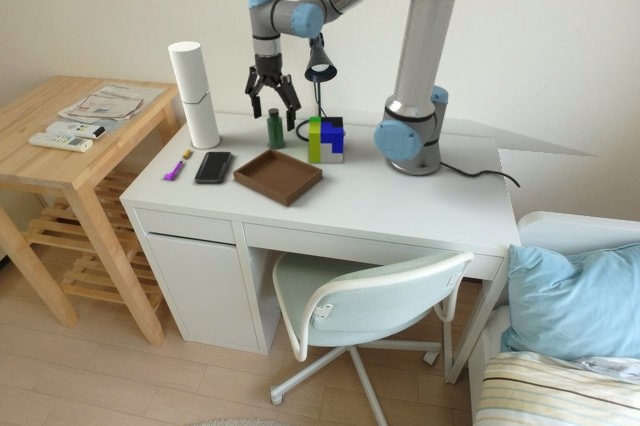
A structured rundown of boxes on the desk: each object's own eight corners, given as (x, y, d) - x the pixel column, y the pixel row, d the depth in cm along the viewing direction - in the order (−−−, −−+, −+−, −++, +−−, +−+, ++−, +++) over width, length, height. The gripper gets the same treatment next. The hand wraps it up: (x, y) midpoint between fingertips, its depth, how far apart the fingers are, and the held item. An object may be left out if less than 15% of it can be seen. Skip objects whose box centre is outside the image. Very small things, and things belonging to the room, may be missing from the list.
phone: (193, 180, 106) (206, 151, 117) (194, 183, 106) (207, 154, 118) (221, 180, 105) (232, 151, 117) (222, 183, 106) (232, 154, 117)
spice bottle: (287, 144, 122) (284, 109, 114) (277, 150, 119) (274, 115, 111) (276, 139, 124) (272, 105, 117) (266, 145, 122) (262, 111, 114)
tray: (322, 178, 108) (322, 169, 106) (287, 207, 98) (286, 197, 96) (271, 156, 117) (270, 147, 115) (234, 180, 107) (232, 171, 105)
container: (223, 135, 127) (204, 41, 107) (215, 149, 120) (193, 51, 100) (198, 134, 127) (175, 41, 107) (189, 148, 121) (162, 51, 101)
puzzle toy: (342, 162, 114) (343, 133, 107) (309, 162, 114) (308, 133, 107) (341, 145, 121) (342, 116, 115) (310, 145, 122) (309, 116, 115)
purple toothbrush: (172, 180, 107) (192, 150, 119) (170, 177, 106) (190, 147, 119) (164, 181, 108) (184, 152, 120) (162, 178, 107) (183, 149, 119)
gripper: (312, 58, 100) (313, 130, 114) (245, 40, 111) (253, 107, 125) (294, 67, 95) (297, 140, 109) (226, 47, 106) (236, 116, 120)
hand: (274, 123), depth 117 cm, fingers open, 13 cm apart
